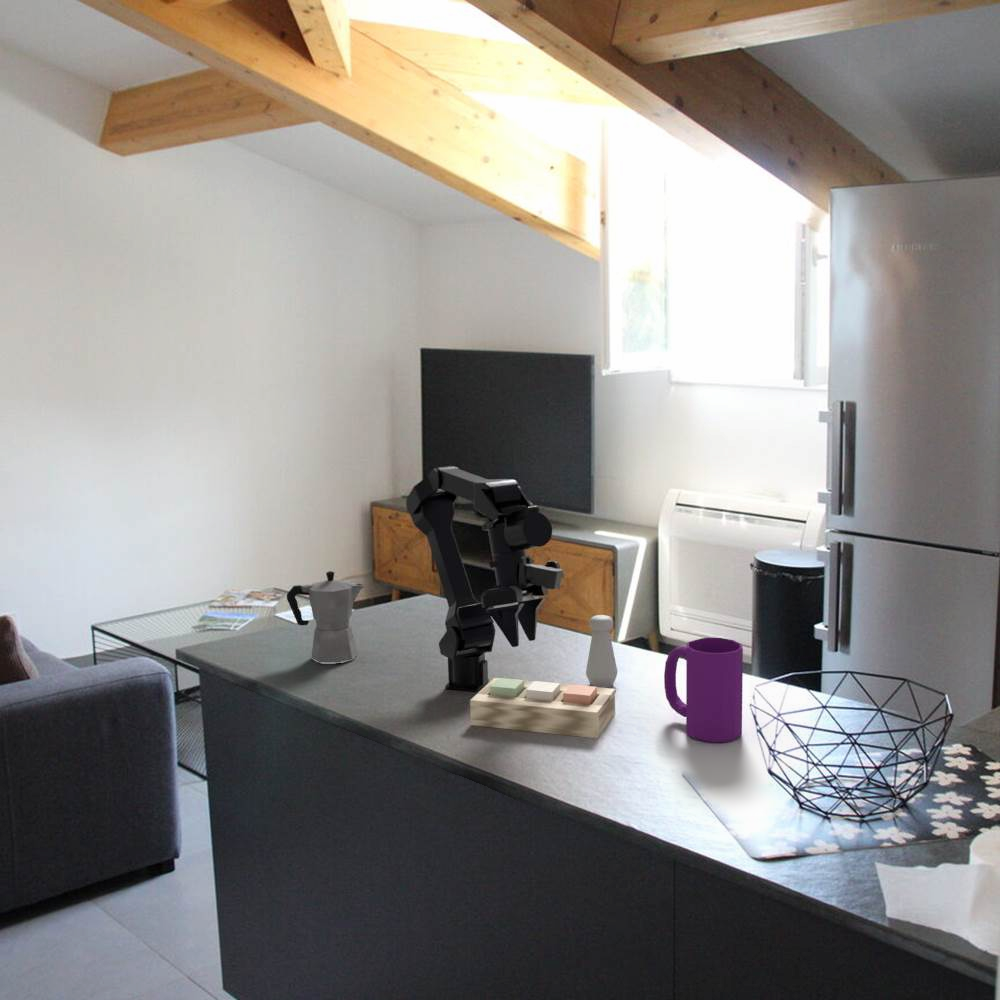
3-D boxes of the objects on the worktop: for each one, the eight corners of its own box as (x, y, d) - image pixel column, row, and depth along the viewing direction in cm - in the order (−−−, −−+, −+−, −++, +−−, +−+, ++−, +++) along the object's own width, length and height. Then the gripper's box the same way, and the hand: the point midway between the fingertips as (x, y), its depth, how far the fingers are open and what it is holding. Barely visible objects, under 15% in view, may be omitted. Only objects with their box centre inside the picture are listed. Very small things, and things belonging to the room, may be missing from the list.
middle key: (526, 708, 195) (526, 689, 195) (534, 700, 200) (534, 681, 199) (552, 711, 194) (552, 692, 193) (560, 702, 198) (560, 683, 198)
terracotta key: (563, 712, 193) (563, 693, 193) (571, 703, 197) (570, 684, 197) (590, 715, 192) (589, 695, 191) (597, 705, 196) (597, 686, 195)
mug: (715, 748, 182) (715, 657, 180) (646, 722, 195) (646, 636, 192) (754, 734, 188) (755, 645, 185) (685, 709, 200) (685, 625, 198)
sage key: (490, 705, 198) (489, 686, 197) (499, 696, 202) (498, 677, 201) (515, 707, 196) (515, 688, 195) (524, 698, 200) (523, 680, 200)
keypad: (470, 725, 195) (470, 700, 194) (494, 701, 206) (494, 677, 206) (597, 738, 188) (597, 712, 187) (615, 713, 199) (615, 688, 198)
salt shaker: (615, 690, 211) (615, 621, 208) (584, 689, 212) (583, 620, 210) (619, 680, 216) (618, 612, 214) (588, 679, 217) (587, 611, 215)
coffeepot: (364, 648, 240) (360, 564, 237) (369, 662, 231) (365, 574, 228) (289, 655, 237) (284, 569, 234) (291, 669, 228) (286, 580, 225)
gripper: (536, 547, 187) (553, 643, 186) (568, 543, 204) (583, 631, 203) (472, 558, 190) (488, 652, 189) (509, 553, 208) (524, 640, 207)
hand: (524, 643), depth 197 cm, fingers open, 9 cm apart
